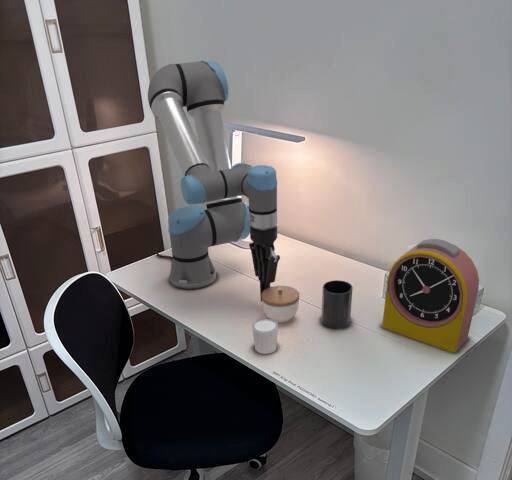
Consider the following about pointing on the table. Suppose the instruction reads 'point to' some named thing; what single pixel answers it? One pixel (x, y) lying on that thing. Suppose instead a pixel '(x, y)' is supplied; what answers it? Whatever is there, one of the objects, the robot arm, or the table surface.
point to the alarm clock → (432, 294)
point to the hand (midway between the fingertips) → (265, 300)
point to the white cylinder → (265, 335)
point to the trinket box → (280, 303)
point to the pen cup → (336, 304)
